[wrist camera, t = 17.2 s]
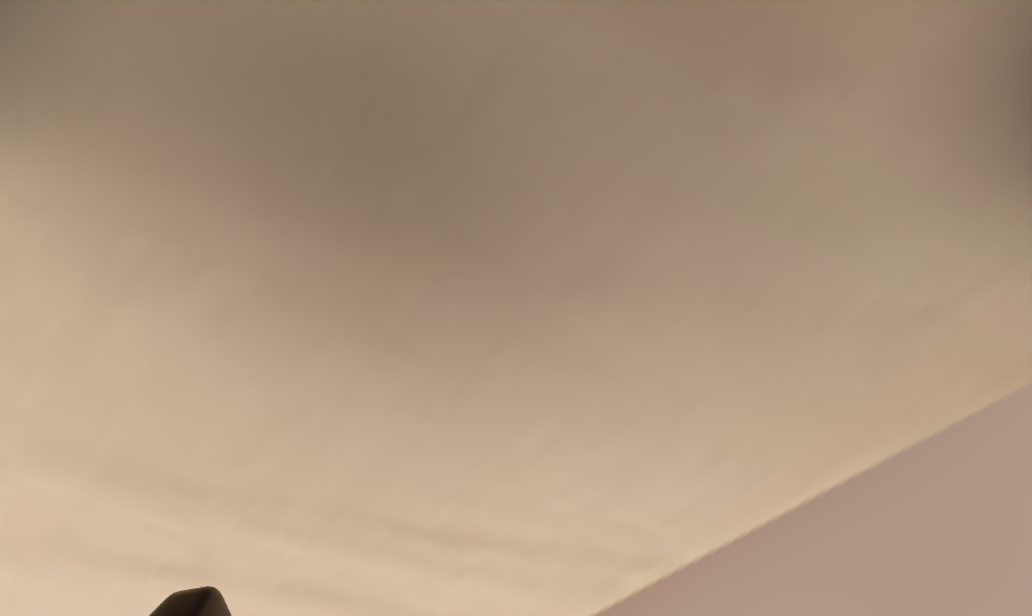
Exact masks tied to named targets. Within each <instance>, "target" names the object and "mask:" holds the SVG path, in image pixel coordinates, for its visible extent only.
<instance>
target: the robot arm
mask: <svg viewBox="0 0 1032 616" xmlns="http://www.w3.org/2000/svg"><path fill="white" fill-rule="evenodd" d="M149 616H231V613H230V611H229V609H228V607H227V605H226V603H225V600H224V598H223V596H222V595H221V593H220V591H218V590H217V589H216V588H214V587H209V586H207V587H201V588H195V589H189V590H183V591H178V592H175V593H173V594H172V595H170V596H169V597H168V598H167V599H165V600H164V601H163V602H162V603H161V604H160V605H159V606H158V607H157V608H156V609H155V610H154V611H153V612H152V613H151V614H150V615H149Z"/></svg>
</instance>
